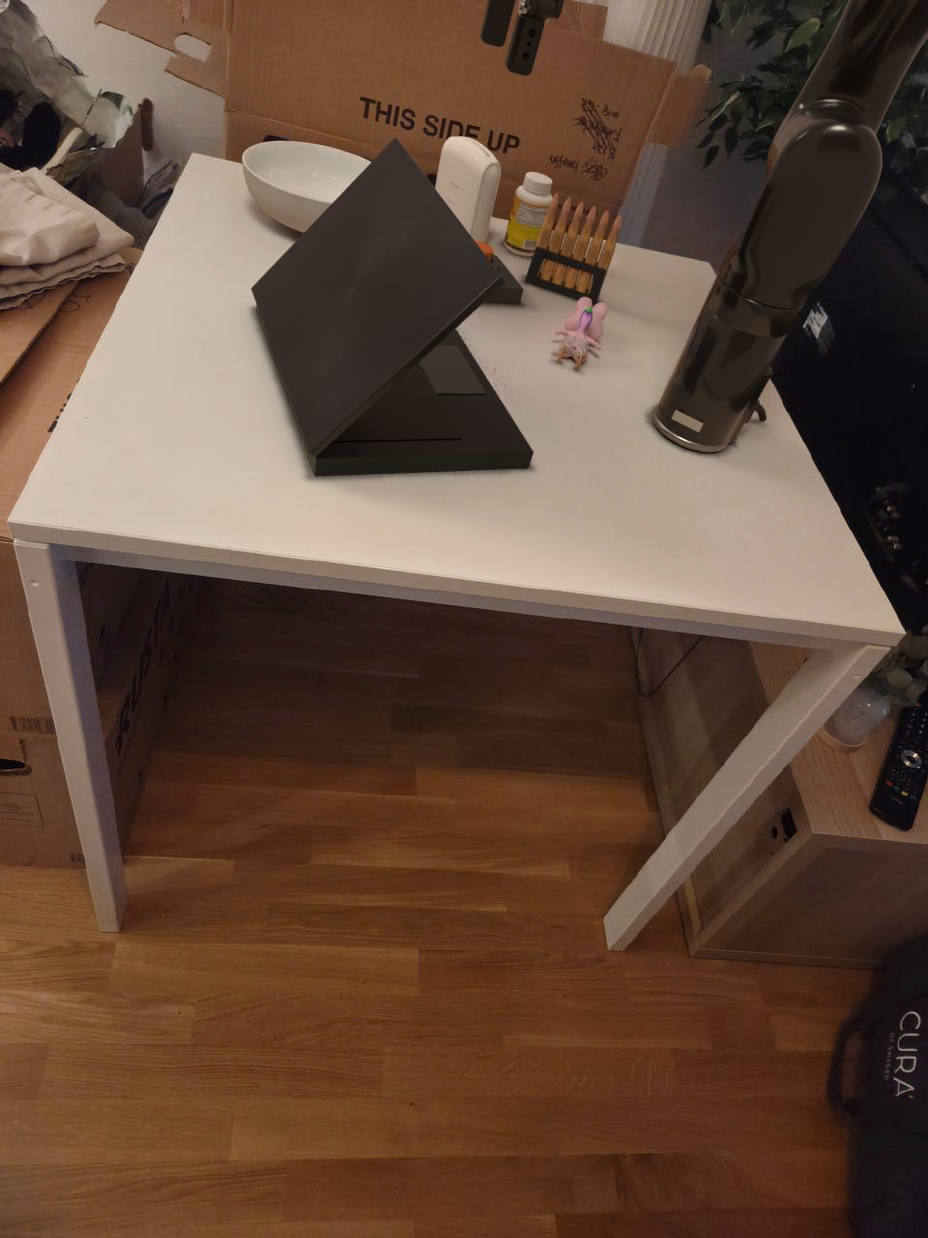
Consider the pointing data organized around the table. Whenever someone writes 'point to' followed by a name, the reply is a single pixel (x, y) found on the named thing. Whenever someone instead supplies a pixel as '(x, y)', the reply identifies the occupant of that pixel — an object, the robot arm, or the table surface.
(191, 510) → the table surface
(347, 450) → the laptop
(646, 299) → the table surface
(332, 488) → the table surface
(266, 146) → the serving bowl
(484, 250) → the power button
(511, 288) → the switch box
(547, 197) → the supplement bottle
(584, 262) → the ammunition clip
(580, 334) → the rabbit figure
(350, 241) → the laptop screen
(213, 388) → the table surface
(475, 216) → the photo printer
